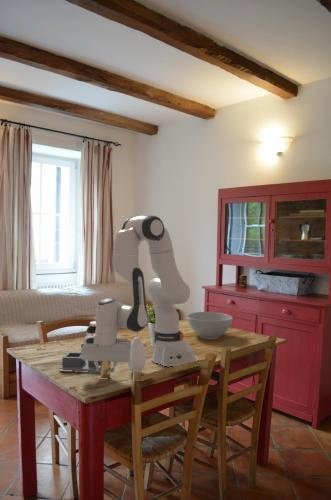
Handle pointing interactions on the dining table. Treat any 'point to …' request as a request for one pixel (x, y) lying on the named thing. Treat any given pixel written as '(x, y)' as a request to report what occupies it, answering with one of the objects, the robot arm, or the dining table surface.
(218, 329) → the decorative bowl
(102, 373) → the pipe nipple
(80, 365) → the socket block
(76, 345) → the dining table surface
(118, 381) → the dining table surface
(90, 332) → the spread jar
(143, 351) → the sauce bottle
